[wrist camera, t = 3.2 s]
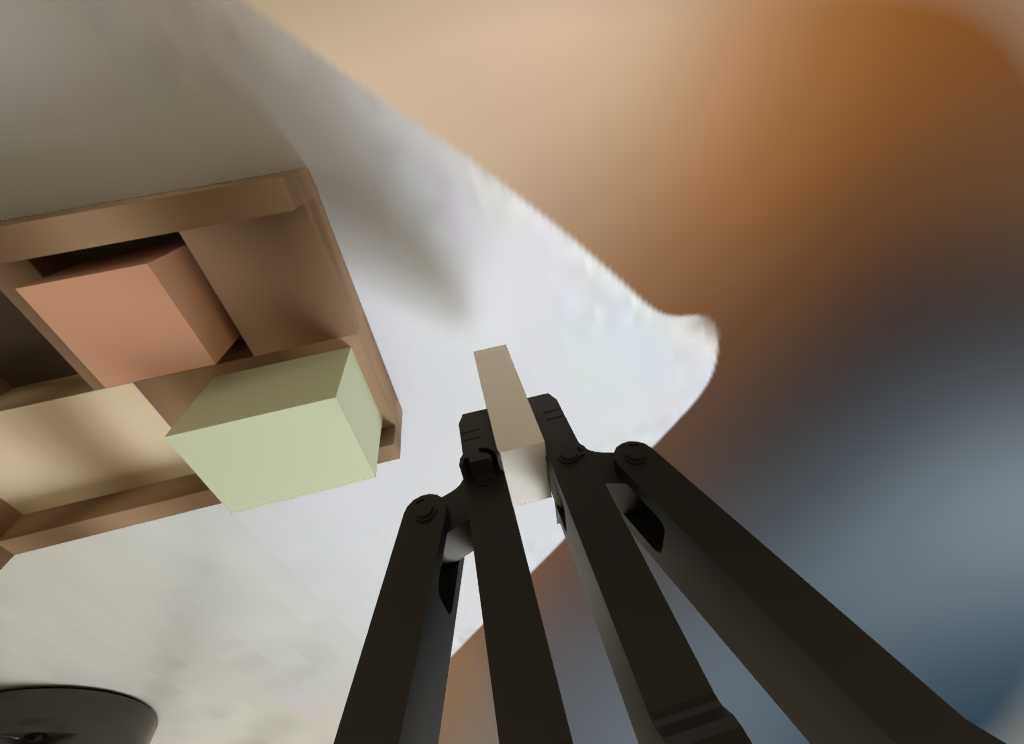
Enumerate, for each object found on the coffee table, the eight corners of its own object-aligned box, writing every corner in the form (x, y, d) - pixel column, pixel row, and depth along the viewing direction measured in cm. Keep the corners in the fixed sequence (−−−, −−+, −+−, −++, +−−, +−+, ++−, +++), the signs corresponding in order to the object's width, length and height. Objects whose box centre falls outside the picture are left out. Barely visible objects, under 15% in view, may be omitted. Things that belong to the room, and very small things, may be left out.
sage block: (263, 448, 19) (231, 513, 16) (213, 376, 17) (163, 437, 14) (382, 419, 20) (375, 476, 17) (350, 346, 17) (335, 397, 14)
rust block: (163, 340, 18) (105, 388, 14) (100, 255, 16) (14, 288, 12) (252, 321, 18) (215, 364, 15) (203, 236, 16) (147, 263, 13)
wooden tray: (57, 493, 21) (-31, 581, 17) (-229, 260, 14) (-504, 316, 10) (402, 410, 23) (399, 472, 19) (307, 167, 16) (268, 181, 12)
